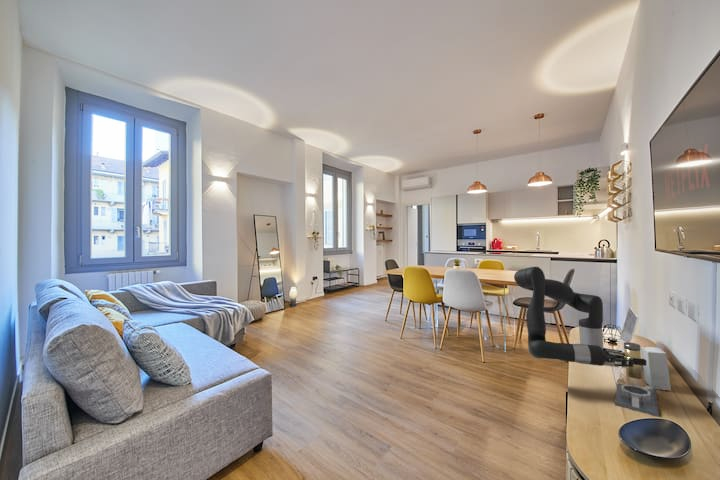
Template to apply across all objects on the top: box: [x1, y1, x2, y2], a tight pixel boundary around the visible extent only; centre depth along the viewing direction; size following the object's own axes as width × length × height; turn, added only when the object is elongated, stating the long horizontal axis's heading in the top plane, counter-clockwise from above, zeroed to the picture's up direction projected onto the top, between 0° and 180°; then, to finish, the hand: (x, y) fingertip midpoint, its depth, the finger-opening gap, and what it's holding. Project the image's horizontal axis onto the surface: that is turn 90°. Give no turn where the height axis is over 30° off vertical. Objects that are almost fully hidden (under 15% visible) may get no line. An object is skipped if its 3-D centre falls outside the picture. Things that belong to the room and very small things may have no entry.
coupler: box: [623, 342, 643, 380], centre depth 108 cm, size 5×5×12 cm
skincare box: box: [640, 346, 672, 392], centre depth 118 cm, size 8×6×15 cm
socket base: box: [614, 382, 659, 417], centre depth 108 cm, size 20×11×4 cm, turn 136°
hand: (642, 359), depth 107 cm, fingers closed on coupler, 4 cm apart
